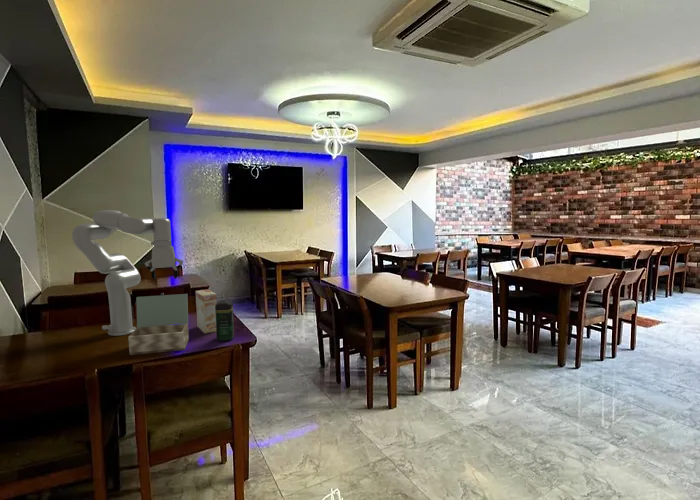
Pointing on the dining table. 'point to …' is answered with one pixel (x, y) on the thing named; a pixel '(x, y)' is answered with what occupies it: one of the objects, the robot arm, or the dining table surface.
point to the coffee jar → (224, 320)
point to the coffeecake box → (206, 310)
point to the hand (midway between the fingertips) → (165, 278)
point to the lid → (162, 310)
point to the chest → (158, 339)
